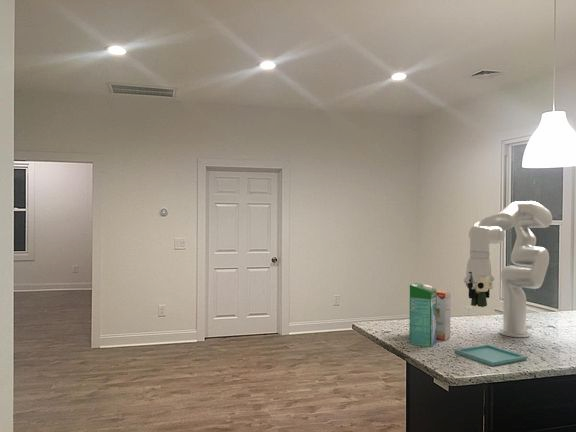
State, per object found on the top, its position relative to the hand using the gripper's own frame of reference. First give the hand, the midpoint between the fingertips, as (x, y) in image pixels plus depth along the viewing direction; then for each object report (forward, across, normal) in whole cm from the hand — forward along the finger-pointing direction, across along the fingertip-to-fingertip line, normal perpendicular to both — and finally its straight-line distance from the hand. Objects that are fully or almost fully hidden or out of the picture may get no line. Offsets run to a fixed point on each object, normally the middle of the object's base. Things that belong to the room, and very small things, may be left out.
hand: (479, 297), depth 194 cm
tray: (+20, +9, +14) cm, 26 cm away
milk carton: (+20, +19, -12) cm, 30 cm away
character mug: (+4, 0, 0) cm, 4 cm away
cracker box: (+20, +8, -18) cm, 29 cm away
